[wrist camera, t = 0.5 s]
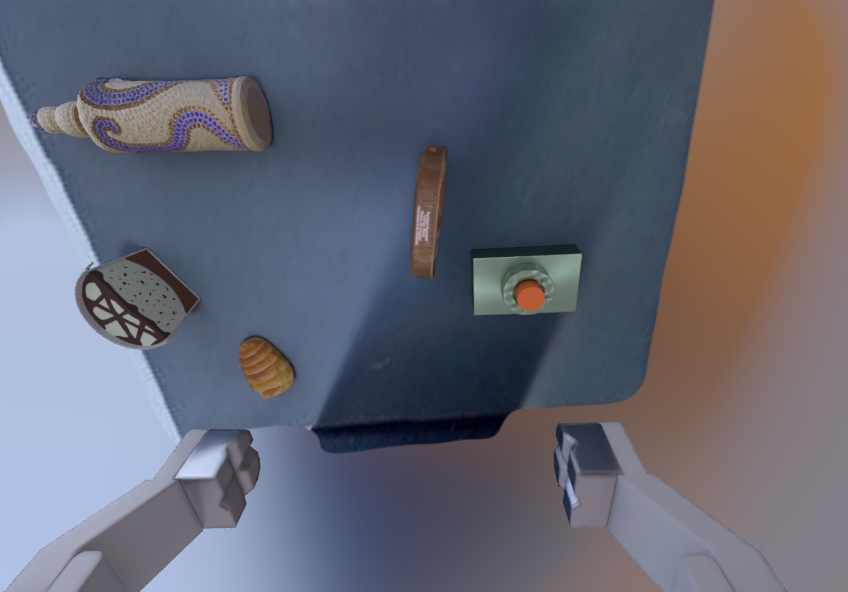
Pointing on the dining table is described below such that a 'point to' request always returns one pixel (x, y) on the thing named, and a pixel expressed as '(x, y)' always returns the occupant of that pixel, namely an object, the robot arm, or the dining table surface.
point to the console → (525, 278)
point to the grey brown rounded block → (134, 300)
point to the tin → (428, 211)
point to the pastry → (265, 367)
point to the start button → (529, 295)
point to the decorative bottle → (164, 115)
